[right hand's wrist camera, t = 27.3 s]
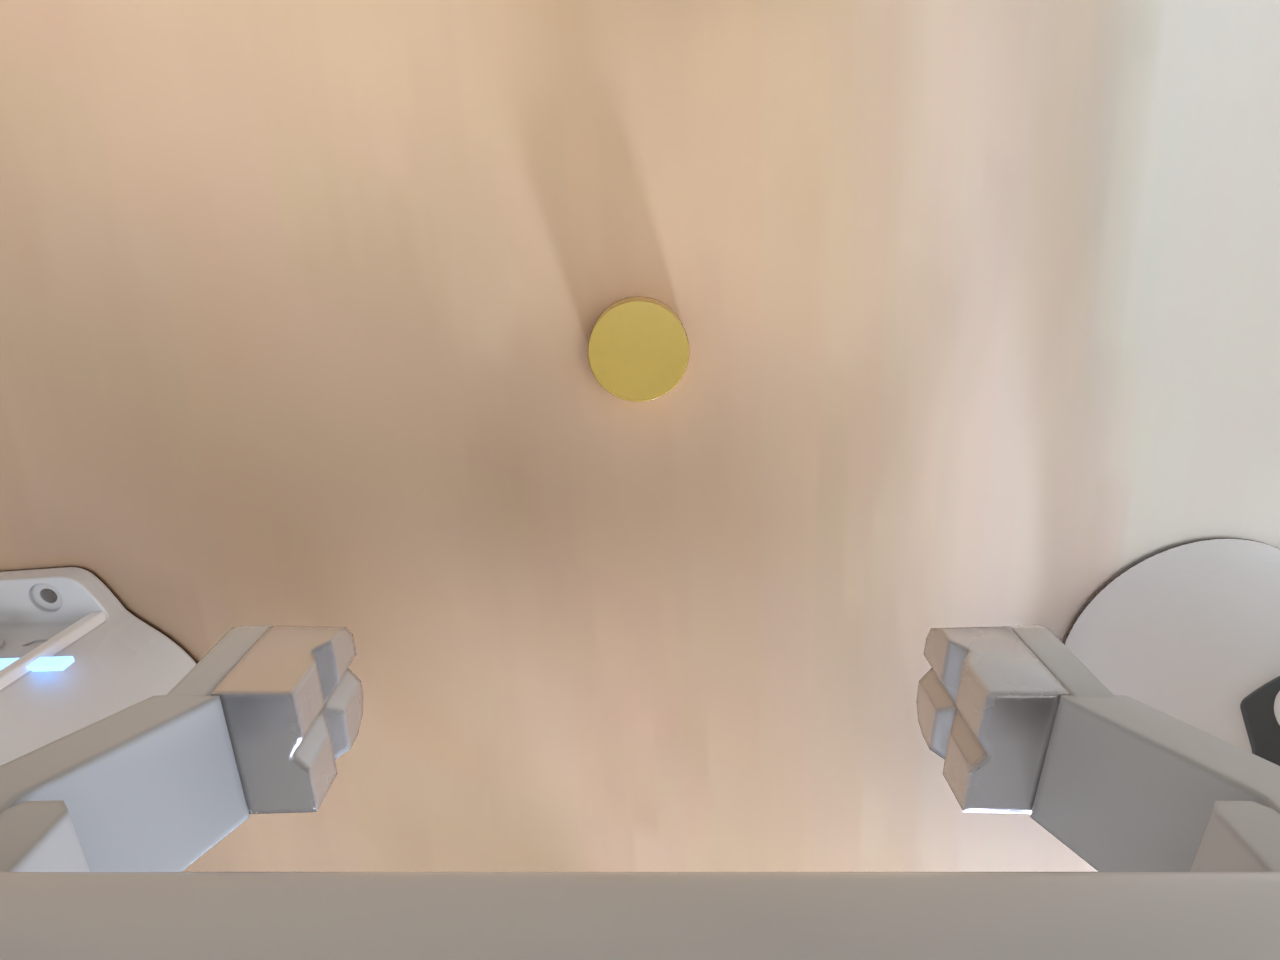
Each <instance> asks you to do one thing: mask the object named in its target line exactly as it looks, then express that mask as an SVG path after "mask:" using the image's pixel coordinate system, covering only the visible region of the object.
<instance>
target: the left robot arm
mask: <svg viewBox="0 0 1280 960" xmlns="http://www.w3.org/2000/svg"><path fill="white" fill-rule="evenodd" d="M1065 646H1066V647H1067V648H1068V649H1069V650H1070V651H1071V652H1072V653H1073V654H1074V655H1075V656H1076V657H1077V658H1078V659H1079V660H1080V661H1081V662H1082V663H1083V664H1084V665H1085V666H1086V667H1087V668H1088V669H1089V670H1090V671H1091V672H1092V673H1093V674H1094V675H1095V676H1096V678H1097V679H1098V680H1099V681H1100V682H1101V683H1102V684H1103V685H1104V686H1105V687H1106V688H1107V689H1108V690H1109V691H1110V692H1111V693H1112V694H1113V695H1126V696H1128V697H1130V698H1133V699H1135V700H1137V701H1139V702H1141V703H1143V704H1146V705H1148V706H1150V707H1152V708H1154V709H1157V710H1159V711H1161V712H1163V713H1165V714H1167V715H1170V716H1172V717H1174V718H1176V719H1178V720H1180V721H1183V722H1185V723H1187V724H1189V725H1191V726H1194V727H1196V728H1198V729H1200V730H1202V731H1204V732H1207V733H1209V734H1211V735H1213V736H1215V737H1218V738H1220V739H1222V740H1224V741H1226V742H1228V743H1231V744H1233V745H1235V746H1237V747H1239V748H1241V749H1244V750H1246V751H1248V752H1250V753H1252V754H1255V755H1257V756H1259V757H1261V758H1263V759H1265V760H1268V761H1270V762H1272V763H1274V764H1276V765H1278V766H1280V549H1278V548H1275V547H1273V546H1270V545H1267V544H1264V543H1260V542H1256V541H1250V540H1244V539H1211V540H1203V541H1198V542H1193V543H1188V544H1184V545H1181V546H1178V547H1174V548H1171V549H1169V550H1166V551H1163V552H1161V553H1158V554H1156V555H1154V556H1152V557H1150V558H1148V559H1146V560H1144V561H1142V562H1140V563H1138V564H1136V565H1135V566H1133V567H1131V568H1130V569H1128V570H1127V571H1125V572H1124V573H1122V574H1121V575H1120V576H1118V577H1117V578H1116V579H1114V580H1113V581H1112V582H1111V583H1109V584H1108V585H1107V586H1106V587H1105V588H1104V589H1103V590H1102V591H1100V592H1099V593H1098V594H1097V595H1096V597H1095V598H1094V599H1093V600H1092V601H1091V602H1090V603H1089V604H1088V605H1087V607H1086V608H1085V609H1084V611H1083V612H1082V613H1081V615H1080V616H1079V618H1078V619H1077V621H1076V622H1075V624H1074V625H1073V627H1072V629H1071V631H1070V633H1069V635H1068V637H1067V639H1066V642H1065Z"/></svg>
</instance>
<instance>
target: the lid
mask: <svg viewBox="0 0 1280 960" xmlns="http://www.w3.org/2000/svg"><path fill="white" fill-rule="evenodd" d="M588 358H589V363H590V367H591V370H592V372H593V374H594V376H595V378H596V379H597V381H598V382H599V383H600V384H601V385H602V387H604V388H605V389H606V390H607V391H608V392H610V393H611V394H613V395H614V396H616V397H618V398H621V399H624V400H628V401H635V402H644V401H650V400H653V399H656V398H659V397H661V396H663V395H665V394H666V393H668V392H669V391H670V390H672V389H673V388H674V387H675V386H676V385H677V384H678V382H679V381H680V380H681V378H682V376H683V374H684V372H685V370H686V367H687V364H688V359H689V343H688V339H687V335H686V332H685V330H684V327H683V325H682V323H681V321H680V319H679V318H678V316H677V315H676V314H675V313H674V312H673V311H672V310H671V309H670V308H669V307H668V306H666V305H665V304H663V303H661V302H660V301H657V300H655V299H651V298H647V297H630V298H626V299H623V300H620V301H618V302H616V303H614V304H612V305H611V306H609V307H608V308H607V309H606V310H605V311H604V312H603V313H602V314H601V315H600V317H599V318H598V320H597V321H596V323H595V325H594V328H593V330H592V333H591V336H590V339H589V344H588Z"/></svg>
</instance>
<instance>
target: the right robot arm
mask: <svg viewBox="0 0 1280 960" xmlns="http://www.w3.org/2000/svg"><path fill="white" fill-rule="evenodd" d="M52 591H54V592H55V593H56V594H54V593H53V592H52ZM355 656H356V650H355V645H354V640H353V635H352V633H351V632H350V631H349V630H348V629H347V628H346V627H309V626H272V625H265V626H239V627H234V628H232V629H231V630H230V631H229V632H228V633H227V634H226V635H225V636H224V637H223V638H222V639H221V640H220V641H219V642H218V643H217V644H216V645H215V646H214V647H213V648H212V649H211V650H210V651H209V652H208V653H207V654H206V655H205V656H204V657H203V658H202V659H201V660H200V661H199V662H198V663H196V662H195V661H194V660H193V659H192V658H191V657H190V656H189V655H188V654H187V653H186V652H185V651H184V650H183V649H182V648H181V647H179V646H178V645H177V644H176V643H175V642H173V641H172V640H171V639H169V638H168V637H167V636H165V635H164V634H162V633H161V632H159V631H158V630H156V629H154V628H153V627H151V626H150V625H148V624H146V623H145V622H143V621H141V620H140V619H138V618H137V617H135V616H134V615H133V614H131V613H130V612H129V611H128V610H126V609H125V608H124V606H123V605H122V604H121V603H120V602H119V600H118V599H117V598H116V597H115V596H114V595H113V593H112V592H111V591H110V590H109V589H108V588H107V587H106V586H105V584H104V583H103V582H102V581H101V580H99V579H98V578H97V577H96V576H95V575H94V574H92V573H91V572H89V571H87V570H85V569H82V568H77V567H63V568H48V569H33V570H19V571H4V572H0V960H1280V766H1278V765H1276V764H1274V763H1272V762H1270V761H1268V760H1265V759H1263V758H1261V757H1259V756H1257V755H1255V754H1252V753H1250V752H1248V751H1246V750H1244V749H1241V748H1239V747H1237V746H1235V745H1233V744H1231V743H1228V742H1226V741H1224V740H1222V739H1220V738H1218V737H1215V736H1213V735H1211V734H1209V733H1207V732H1204V731H1202V730H1200V729H1198V728H1196V727H1194V726H1191V725H1189V724H1187V723H1185V722H1183V721H1180V720H1178V719H1176V718H1174V717H1172V716H1170V715H1167V714H1165V713H1163V712H1161V711H1159V710H1157V709H1154V708H1152V707H1150V706H1148V705H1146V704H1143V703H1141V702H1139V701H1137V700H1135V699H1133V698H1130V697H1128V696H1126V695H1113V694H1112V693H1111V692H1110V691H1109V690H1108V689H1107V688H1106V687H1105V686H1104V685H1103V684H1102V683H1101V682H1100V681H1099V680H1098V679H1097V678H1096V676H1095V675H1094V674H1093V673H1092V672H1091V671H1090V670H1089V669H1088V668H1087V667H1086V666H1085V665H1084V664H1083V663H1082V662H1081V661H1080V660H1079V659H1078V658H1077V657H1076V656H1075V655H1074V654H1073V653H1072V652H1071V651H1070V650H1069V649H1068V648H1067V647H1066V646H1065V645H1064V644H1063V643H1062V642H1061V641H1060V640H1059V639H1058V638H1057V637H1056V636H1055V635H1054V634H1053V633H1052V632H1051V631H1050V630H1049V629H1048V628H1045V627H1043V626H1040V625H1028V626H1003V627H970V628H932V629H931V630H930V632H929V634H928V636H927V638H926V644H925V649H924V656H925V657H926V659H927V660H928V662H929V664H930V665H931V667H932V668H931V669H930V670H929V671H928V672H927V673H926V675H925V676H924V677H923V678H922V679H921V680H920V681H919V686H918V694H917V711H918V721H919V725H920V728H921V731H922V735H923V737H924V739H925V741H926V743H927V745H928V747H929V749H930V750H932V751H933V752H935V753H936V754H938V755H939V756H941V757H942V758H944V759H945V763H944V769H943V775H944V777H945V779H946V780H947V782H948V784H949V786H950V788H951V790H952V791H953V793H954V795H955V797H956V799H957V801H958V803H959V804H960V806H961V808H962V810H963V812H979V813H1015V814H1031V816H1030V817H1031V818H1032V819H1034V820H1035V821H1036V822H1037V823H1039V824H1040V825H1041V826H1042V827H1043V828H1045V829H1046V830H1047V831H1048V832H1050V833H1051V834H1052V835H1053V836H1055V837H1056V838H1057V839H1059V840H1060V841H1061V842H1062V843H1063V844H1065V845H1066V846H1067V847H1068V848H1070V849H1071V850H1072V851H1073V852H1075V853H1076V854H1077V855H1078V856H1080V857H1081V858H1082V859H1083V860H1085V861H1086V862H1087V863H1088V864H1090V865H1091V866H1092V867H1093V868H1095V869H1096V870H1097V871H1098V872H182V871H183V870H184V869H185V868H187V867H188V866H189V865H190V864H192V863H193V862H194V861H195V860H197V859H198V858H199V857H200V856H202V855H203V854H204V853H205V852H207V851H208V850H209V849H211V848H212V847H213V846H214V845H216V844H217V843H218V842H219V841H221V840H222V839H223V838H224V837H226V836H227V835H228V834H229V833H231V832H232V831H233V830H234V829H236V828H237V827H238V826H239V825H241V824H242V823H243V822H244V821H246V820H247V819H248V818H249V814H265V813H300V812H317V810H318V808H319V806H320V804H321V803H322V801H323V799H324V797H325V795H326V793H327V792H328V790H329V788H330V786H331V784H332V782H333V780H334V779H335V777H336V775H337V769H336V763H335V759H336V758H338V757H339V756H341V755H342V754H344V753H345V752H347V751H348V750H350V749H351V747H352V745H353V743H354V741H355V739H356V737H357V735H358V732H359V728H360V723H361V719H362V715H363V692H362V685H361V681H360V680H359V679H358V678H357V677H356V676H355V675H354V673H353V672H352V671H351V670H350V669H349V668H348V667H349V665H350V664H351V662H352V660H353V659H354V657H355Z"/></svg>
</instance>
